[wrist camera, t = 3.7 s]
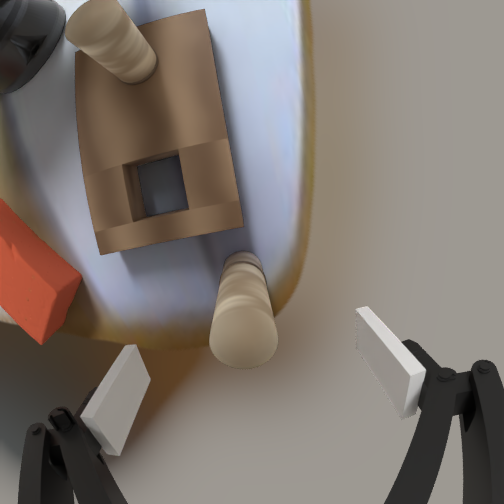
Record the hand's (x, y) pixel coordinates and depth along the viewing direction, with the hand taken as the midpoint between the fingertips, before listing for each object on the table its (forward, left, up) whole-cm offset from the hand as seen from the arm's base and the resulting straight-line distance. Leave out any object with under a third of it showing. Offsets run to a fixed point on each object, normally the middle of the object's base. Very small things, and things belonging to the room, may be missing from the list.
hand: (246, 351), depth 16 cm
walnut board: (-6, +16, -15) cm, 23 cm away
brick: (-28, +6, -15) cm, 33 cm away
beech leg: (0, 0, -15) cm, 15 cm away
